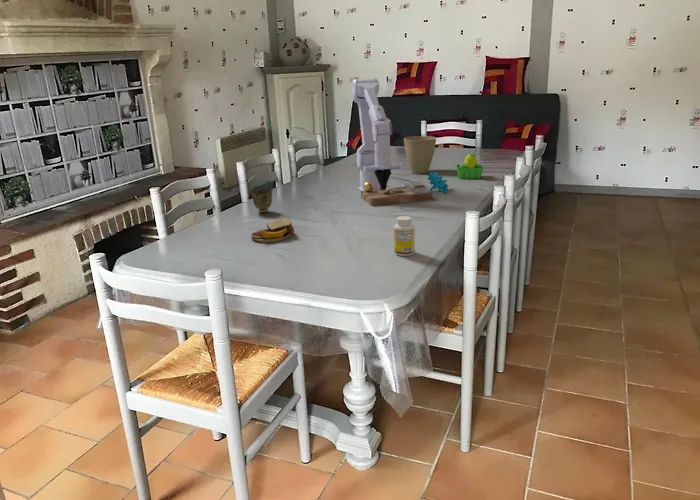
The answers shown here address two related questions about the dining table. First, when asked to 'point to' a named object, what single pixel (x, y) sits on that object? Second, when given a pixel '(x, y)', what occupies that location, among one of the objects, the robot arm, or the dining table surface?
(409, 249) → the supplement bottle
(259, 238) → the toy sandwich meal
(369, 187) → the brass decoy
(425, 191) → the cover
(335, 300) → the dining table surface
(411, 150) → the plant pot
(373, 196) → the wooden cutting board
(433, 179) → the blue irregular figure
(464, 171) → the fruit basket
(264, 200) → the cup
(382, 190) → the steel ball
